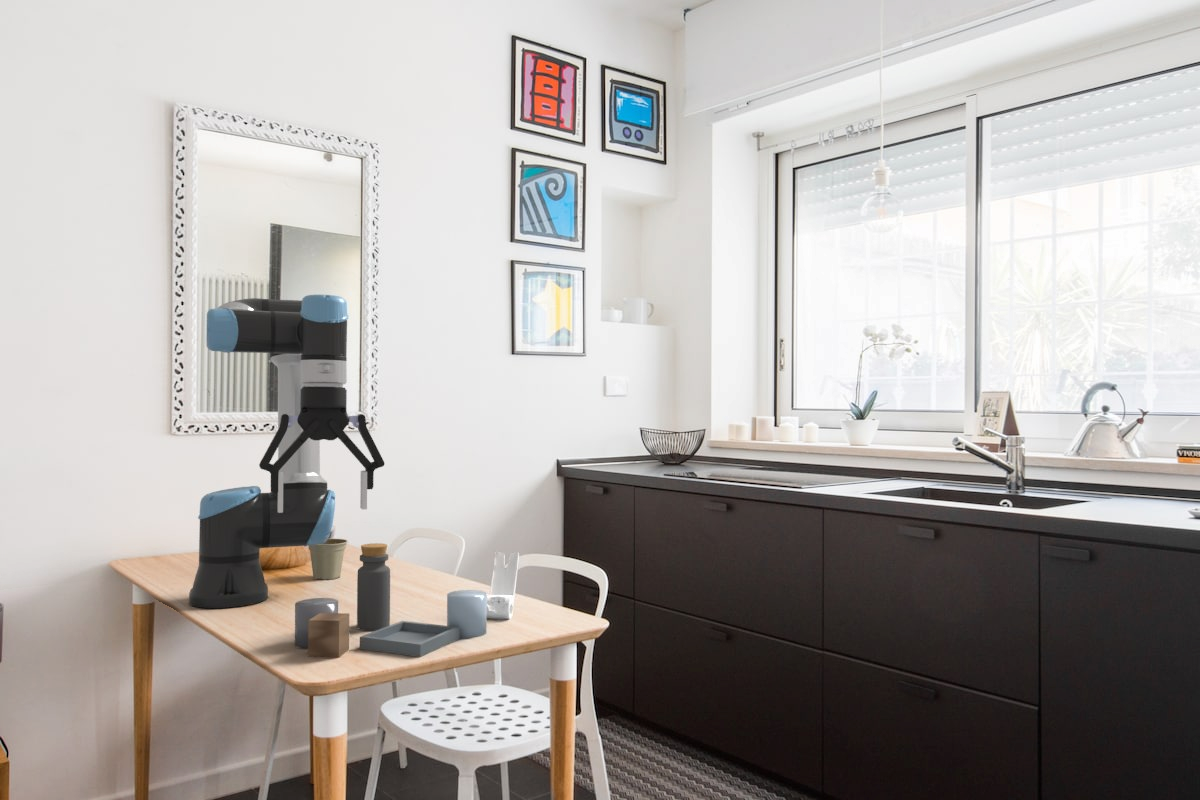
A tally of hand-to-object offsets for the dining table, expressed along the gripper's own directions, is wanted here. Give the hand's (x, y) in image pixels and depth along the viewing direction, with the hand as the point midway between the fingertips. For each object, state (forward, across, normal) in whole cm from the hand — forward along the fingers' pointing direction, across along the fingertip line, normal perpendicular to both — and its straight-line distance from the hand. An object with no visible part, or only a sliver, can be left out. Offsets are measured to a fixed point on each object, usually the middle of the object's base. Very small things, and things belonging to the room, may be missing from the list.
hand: (322, 510), depth 147 cm
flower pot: (+23, +6, +60) cm, 65 cm away
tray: (+23, +14, -6) cm, 27 cm away
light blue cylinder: (+23, +25, -2) cm, 34 cm away
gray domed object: (+23, -1, +1) cm, 23 cm away
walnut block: (+23, +1, -6) cm, 24 cm away
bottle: (+23, +10, +8) cm, 26 cm away
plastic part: (+23, +33, +10) cm, 42 cm away
